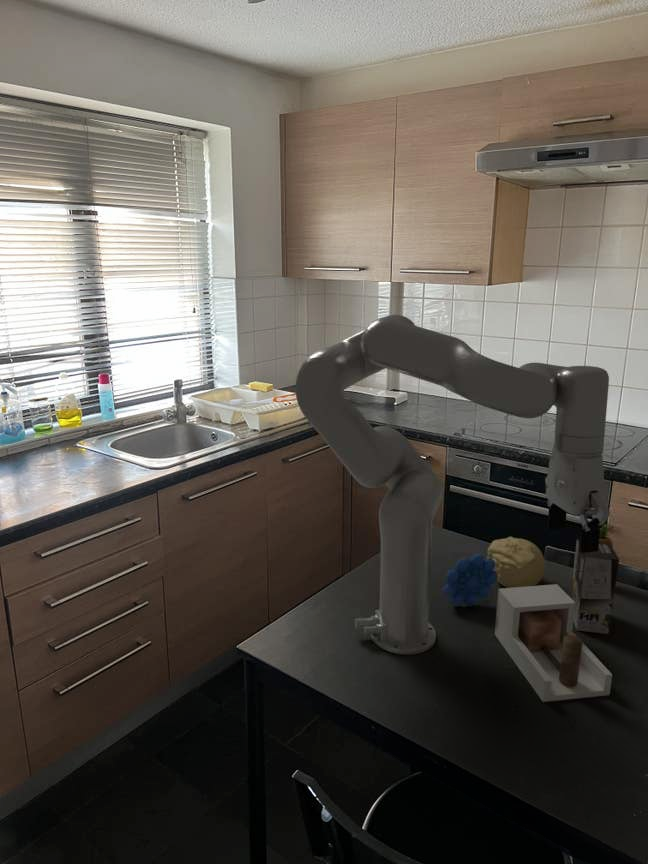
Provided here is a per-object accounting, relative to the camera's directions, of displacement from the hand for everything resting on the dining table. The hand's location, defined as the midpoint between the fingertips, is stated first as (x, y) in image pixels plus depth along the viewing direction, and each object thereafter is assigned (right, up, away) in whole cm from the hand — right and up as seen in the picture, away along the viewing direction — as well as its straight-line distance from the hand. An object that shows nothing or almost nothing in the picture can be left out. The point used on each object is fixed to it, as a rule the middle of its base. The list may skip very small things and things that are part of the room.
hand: (571, 539), depth 109 cm
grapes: (-11, -19, +28) cm, 36 cm away
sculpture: (+1, -16, +37) cm, 41 cm away
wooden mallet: (-1, -23, +8) cm, 24 cm away
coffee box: (+12, -20, +22) cm, 32 cm away
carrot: (+20, -16, +37) cm, 45 cm away
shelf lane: (-1, -24, +8) cm, 25 cm away
